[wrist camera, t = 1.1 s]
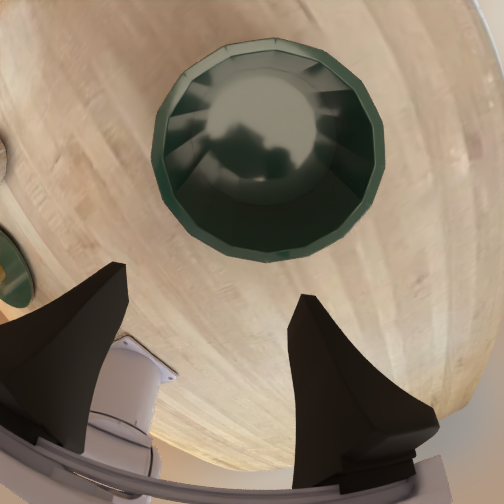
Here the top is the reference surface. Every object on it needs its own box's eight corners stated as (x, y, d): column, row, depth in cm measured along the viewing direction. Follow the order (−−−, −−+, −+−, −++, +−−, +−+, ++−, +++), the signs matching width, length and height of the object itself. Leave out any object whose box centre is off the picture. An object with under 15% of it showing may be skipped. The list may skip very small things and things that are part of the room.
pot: (241, 235, 20) (238, 293, 15) (155, 119, 16) (109, 132, 10) (366, 165, 17) (412, 199, 12) (290, 34, 13) (311, 3, 7)
